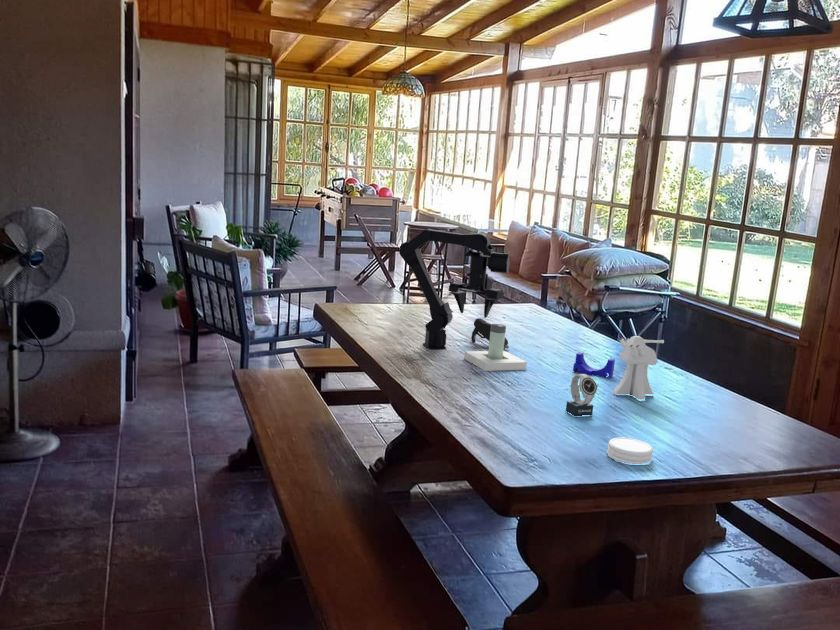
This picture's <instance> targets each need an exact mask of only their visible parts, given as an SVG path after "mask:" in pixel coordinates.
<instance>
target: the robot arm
mask: <svg viewBox="0 0 840 630" xmlns="http://www.w3.org/2000/svg"><path fill="white" fill-rule="evenodd" d="M429 242H436V243H444V244H451V245H459V246H463V247H464V248H467V249H469V250H468V251H467V252H466V253H465V254H464V256H465V257H470V259H469V272H467V275H466V276H467V277H468V282H467V283H468V284H466V283H464V282H459V281H455V282H451V283H450V284H449V285H448V292H451V295H453V296H454V299H455V300H456V303H457V306H458V309H459V312H460V314H463V313H464V311H465V297H466V295H467V293H473V294H478V295H485V296H486V297H485V298H484V308H483V309H484V310H483V317H484V319H485V318H487V317H488V315H489V313H490V311H491V309H492V306H494V304H495V302H496V301H499V300H500V299H504V294H505V293H504V290H503V289H500V288H494V287H493V285H494V281H493V280H492V279H490V278H489V277H488V276H489V273H487V270H490V273H497V274H508V273H509V272H510V265H511V262H510V253H509V252H508V253H507V252H496V251H495V250H494V248H493V246H492V244H491V239H490V236H489V235H488V234H486V233H484V232H479V233H478V232H476V233H458V232H453V231H451V232H450V231H444V230H436V229H431V228H426V229H422V231H421V232H419V234H416V236H415V237H413V238H412V239H410V240H409V241H405V242H402V243H401V244H400V246H399V248H398V253H399V254H398V255H400V258H402V260H403V262H404V263H406V264H407V266H408V267H409V268H410V269H411V270H412V273H413V275H414V276H415V278H416V279H415V280H416V281H417V283H418V285H419V287H420V288H421V291H422V293H423V295H424V297H425V299H426V301H427V303H428V305H429V314H430V318H431V320H430V321H429V322H427V323H426V324H425V325H424V326H425V335H424V336H425V337H424V342H423V343H422V345H423V346H425V347H426V348H427V349H434V350H436V349H437V350H439V349H441V350H442V349H447V346H446V345H447V344H446V343H447V333H446V332H447V331H446V330H445V329H446V327H447V326H448V325H450V323H451V322H452V321H453V318H454V317H453V313H454V311H453V310H452V308H451V307H450V302H448V301H446V302H444V301H443V300H441V298H440V296H439V294H438V292H437V289H436V287H435V286H434V283H433V282H432V279H431V277H430V275H429V273H428V270H427V269H426V266H425V265H424V261H423V254H422V252H421V251H422V248H424V247H425V246H426V245H427V244H428V243H429Z"/></svg>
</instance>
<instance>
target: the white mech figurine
mask: <svg viewBox="0 0 840 630" xmlns="http://www.w3.org/2000/svg"><path fill="white" fill-rule="evenodd" d="M618 341H619V342H620V344H621V345H622V346H623V348H622V350H621V352H620V354H619V358H620V359H621V360H623V361H624V362H626V366H625V367H626V368H625V372H624V374H623V376H622V377H621V380H620V381H619V383H618V384H617V386H616V387H615V388H614V389H613V390H612V394H613V393H614V394H630V395H633V396H635V397H636V398H638V399H644V398H646V399H647V397H645V394H655V393H654V392H653V390H652V388H651V385H650V382H649V377H648V368H649V366H656V364H658V362H659V361H658V359H657V358H658V357H657V353H656V351H655V350H654V349H653V348H651V347H649V346H647V344H648V343H649V344H651V343H653V344H655V343H656V344H664V343H665V340H664V339H657V340H655V339H654V340H653V339H644V338H643V337H641V336H639V335H633V336H630V338H629V337H627V338H625V339H624V337H620V338H619V340H618ZM614 394H613V395H614Z"/></svg>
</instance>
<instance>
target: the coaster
mask: <svg viewBox="0 0 840 630" xmlns="http://www.w3.org/2000/svg"><path fill="white" fill-rule="evenodd" d="M653 452H654V448H653V447H652V446H651V445H650V444H649V443H647V442H645V441H643V440H639V439H635V438H630V437H613V438H611V439H610V440H609V441H608V446H607V452H606V455H607V454H608V455H607V456H609V457H611V458H613V459H615V460H617V461H620V462H624V463H632V464H642V463H647V462H649V461H651V459H652V458H653ZM609 457H608V458H609ZM611 458H610V459H611ZM651 462H652V461H651Z"/></svg>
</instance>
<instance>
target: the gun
mask: <svg viewBox="0 0 840 630" xmlns="http://www.w3.org/2000/svg"><path fill="white" fill-rule="evenodd" d="M491 324H492V323H489V322H487V321H485V320H484V319H483V318H480V317H479V318H475V320H474V321H473V326H474V328H473V330H472V333H471V342H472V343H473V342H475V343H476V338H477V336H478V337H479V338H480V339H486V340H487V341H488V342H489V340H490V330H491ZM508 344H509V341H508V339H507V338H506V337H505V341H504V350H505V349H506V350H509V347H510V346H509V345H508Z"/></svg>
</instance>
